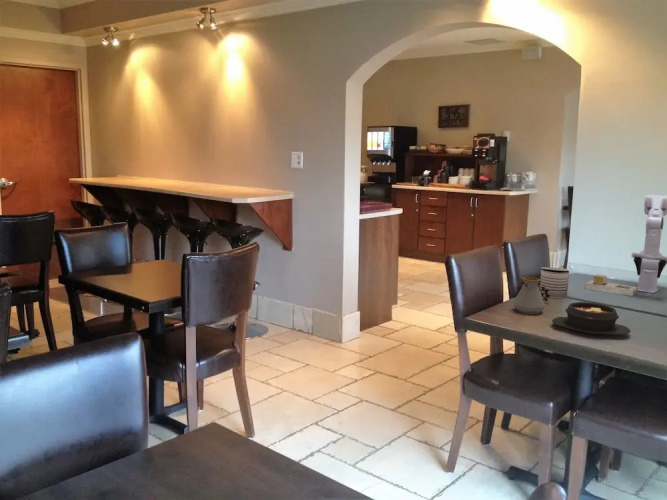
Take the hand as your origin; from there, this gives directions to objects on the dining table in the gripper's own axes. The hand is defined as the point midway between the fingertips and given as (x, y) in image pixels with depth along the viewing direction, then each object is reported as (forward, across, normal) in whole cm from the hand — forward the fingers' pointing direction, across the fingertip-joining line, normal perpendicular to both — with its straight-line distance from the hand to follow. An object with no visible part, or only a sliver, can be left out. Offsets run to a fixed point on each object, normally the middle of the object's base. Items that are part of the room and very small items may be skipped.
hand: (648, 276), depth 257 cm
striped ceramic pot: (+10, -31, -25) cm, 41 cm away
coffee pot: (+10, -28, -64) cm, 70 cm away
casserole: (+10, -3, -68) cm, 69 cm away
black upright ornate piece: (+10, -31, -46) cm, 56 cm away
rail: (+9, -15, +3) cm, 18 cm away
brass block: (+10, -20, +3) cm, 22 cm away
